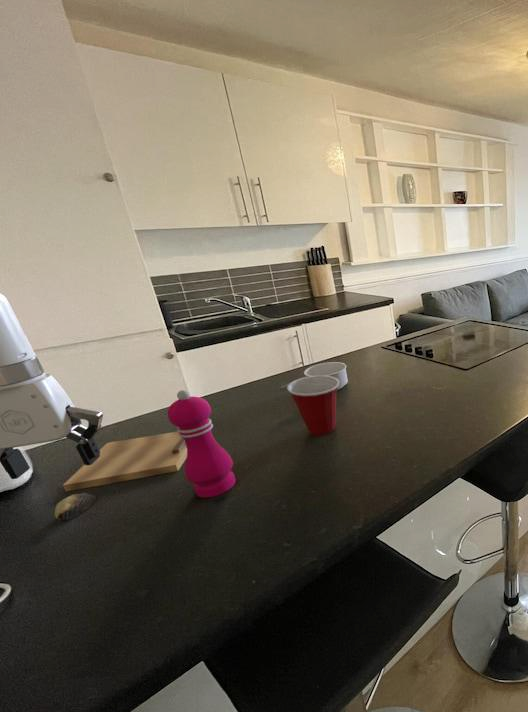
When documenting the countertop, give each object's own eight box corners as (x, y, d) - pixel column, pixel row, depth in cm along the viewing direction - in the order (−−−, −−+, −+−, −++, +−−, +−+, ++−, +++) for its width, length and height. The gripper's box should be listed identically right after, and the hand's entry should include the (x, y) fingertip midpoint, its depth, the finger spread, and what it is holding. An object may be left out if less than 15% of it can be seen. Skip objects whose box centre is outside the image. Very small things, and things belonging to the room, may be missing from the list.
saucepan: (272, 402, 111) (266, 383, 108) (331, 376, 127) (327, 359, 125) (300, 410, 105) (295, 391, 103) (358, 382, 122) (355, 365, 120)
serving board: (65, 491, 77) (60, 481, 76) (109, 448, 91) (105, 439, 90) (178, 471, 82) (174, 461, 81) (203, 433, 96) (200, 424, 95)
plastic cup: (339, 440, 91) (329, 391, 87) (290, 443, 91) (278, 394, 86) (353, 417, 101) (345, 372, 97) (309, 419, 101) (298, 374, 96)
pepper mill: (242, 472, 81) (212, 379, 73) (234, 493, 75) (201, 394, 67) (199, 481, 79) (163, 386, 71) (188, 504, 72) (147, 403, 65)
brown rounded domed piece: (59, 524, 68) (57, 507, 68) (43, 517, 70) (41, 500, 69) (107, 507, 74) (105, 492, 74) (91, 501, 76) (90, 486, 75)
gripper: (-94, 393, 56) (-28, 493, 63) (62, 372, 61) (109, 467, 68) (-48, 374, 63) (8, 467, 70) (90, 357, 68) (130, 445, 75)
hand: (58, 467), depth 69 cm, fingers open, 9 cm apart
